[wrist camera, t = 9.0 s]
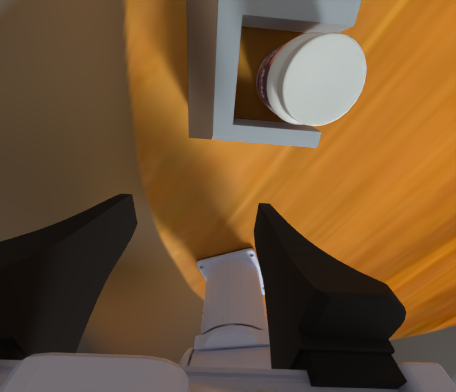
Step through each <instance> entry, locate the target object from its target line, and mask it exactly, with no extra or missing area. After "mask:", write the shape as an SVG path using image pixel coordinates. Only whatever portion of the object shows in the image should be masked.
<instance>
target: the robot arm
mask: <svg viewBox="0 0 456 392" xmlns="http://www.w3.org/2000/svg"><path fill="white" fill-rule="evenodd" d="M136 226H137V219H136V213H135V208H134V202H133V197H132V195H131V194H119V195H117V196H114V197H112V198H110V199H108V200H106V201H104V202H102V203H100V204H98V205H96V206H94V207H92V208H90V209H88V210H86V211H83V212H81V213H79V214H77V215H75V216H72V217H70V218H68V219H66V220H63V221H61V222H58V223H56V224H53V225H51V226H48V227H45V228H43V229H40V230H37V231H34V232H31V233H27V234H24V235H21V236H18V237H15V238H12V239H8V240H4V241H1V242H0V392H456V386H455V384H454V383H453V382H452V380H451V379H450V377H449V376H448V375H447V374H446V372H445V371H444V369H443V368H442V367H441V366H440V364H437V363H424V362H404V363H401V364H398V365H397V363H396V362H395V360H394V359H393V357H392V355H391V354H393V353H394V352H395V351H394V348H393V346H392V345H391V343H390V341H389V340H388V339H389V338H390V337H391V336H392V335H393V334H394V333H395V331H396V330H397V329H398V328H399V327H400V326H401V325H402V323H403V322H404V320H405V316H406V310H405V308H404V306H403V305H402V303H401V302H400V301H399V299H398V298H397V297H396V296H395V294H394V293H393V292H392V290H391V289H390V288H389V287H388V285H387V284H385V283H383V282H380V281H378V280H376V279H374V278H372V277H370V276H367V275H365V274H363V273H361V272H359V271H357V270H355V269H353V268H351V267H349V266H347V265H346V264H344V263H342V262H340V261H338V260H337V259H335V258H333V257H332V256H330V255H329V254H327V253H325V252H324V251H322V250H321V249H319V248H318V247H316V246H315V245H314V244H312V243H311V242H310V241H308V240H307V239H306V238H304V237H303V236H302V235H301V234H300V233H299V232H297V231H296V230H295V229H294V228H293V227H292V226H291V225H290V224H289V223H288V222H287V221H286V220H285V219H284V218H283V217H282V216H281V215H280V214H279V213H278V212H277V211H276V210H275V209H274V208H273V207H272V206H271V205H270V204H266V203H259V205H258V211H257V216H256V222H255V227H254V239H255V248H256V252H257V257H258V259H257V257H256V254H255V251H254V249H252V248H248V249H244V250H240V251H236V252H232V253H228V254H224V255H219V256H215V257H211V258H207V259H203V260H199V261H197V264H196V265H197V267H198V268H199V270H200V272H201V273H202V275H203V277H204V279H205V280H206V290H205V300H204V309H203V319H202V328H201V329H202V330H201V335H200V336H196V338H195V345H194V348H189V349H188V350H187V351H186V353H185V355H184V356H183V358H182V359H181V361H180V363H179V365H178V364H176V363H174V362H172V361H170V360H167V359H164V358H157V357H151V356H138V355H111V354H109V355H108V354H83V353H81V354H80V353H76V351H77V348H78V345H79V342H80V340H81V337H82V335H83V332H84V330H85V327H86V325H87V322H88V320H89V318H90V315H91V313H92V311H93V308H94V306H95V304H96V301H97V299H98V297H99V295H100V293H101V291H102V288H103V286H104V284H105V282H106V280H107V278H108V276H109V274H110V273H111V271H112V269H113V268H114V266H115V264H116V263H117V261H118V259H119V258H120V256H121V254H122V253H123V251H124V250H125V248H126V246H127V244H128V243H129V241H130V240H131V238H132V235H133V233H134V231H135V228H136ZM250 254H252V255H250ZM258 261H259V262H258ZM263 295H265V301H266V310H267V318H266V312H265V305H264V299H263ZM267 320H268V324H267Z"/></svg>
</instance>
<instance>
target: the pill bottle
mask: <svg viewBox="0 0 456 392" xmlns="http://www.w3.org/2000/svg"><path fill="white" fill-rule="evenodd" d="M365 78H366V59H365V55H364V52H363V50H362V48H361V47H360V45H359V44H358V43H357V42H356V41H355V40H354V39H353V38H352V37H350V36H348V35H346V34H343V33H337V32H331V33H320V32H310V33H306V34H302V35H300V36H298V37H296V38H294V39H292V40H291V41H289V42H287V43H285V44H284V45H282V46H280V47H279V48H277V49H275V50H274V51H272V52H271V53H270V54H269V55H268V56H267V57H266V58H265V59H264V60H263V62H262V64H261V65H260V67H259V70H258V73H257V78H256V89H257V93H258V96H259V98H260V100H261V101H262V103H263V104H264V105H265V106H266V107H267V108H269V109H270V110H271V111H272V112H274V113H275V114H276V115H278V116H279V117H280V118H281V119H283V120H284V121H286V122H289V123H292V124H298V125H303V124H305V125H308V126H320V125H325V124H328V123H331V122H333V121H335V120H337V119H338V118H340V117H341V116H343V115H344V114H345V113H346V112H347V111H348V110H349V109H350V108H351V107H352V106H353V105H354V103H355V102H356V100H357V99H358V97H359V95H360V93H361V91H362V89H363V86H364V83H365Z"/></svg>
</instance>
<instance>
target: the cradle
mask: <svg viewBox="0 0 456 392" xmlns="http://www.w3.org/2000/svg"><path fill="white" fill-rule="evenodd" d="M361 1H362V0H218V23H217V48H216V72H215V96H214V120H213V140H224V141H237V142H249V143H262V144H275V145H287V146H300V147H313V148H317V146H318V143H319V140H320V137H321V133H322V132H321V131H319V130H317V129H315V128H314V127H312V126H308V125H305V124H303V125H298V124H292V123H287V122H275V121H263V120H251V119H239V118H233V117H234V106H235V95H236V83H237V72H238V60H239V49H240V37H241V26H243V27H253V28H263V29H273V30H283V31H292V32H302V33H310V32H320V33H331V32H337V33H338V32H341V31H343V30H346V29H348V28H350V27H353V26H354V24H355V21H356V18H357V14H358V11H359V8H360V4H361Z"/></svg>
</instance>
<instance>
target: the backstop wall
mask: <svg viewBox="0 0 456 392" xmlns="http://www.w3.org/2000/svg"><path fill="white" fill-rule="evenodd" d="M217 23H218V0H187V53H188V113H189V138H200V139H212V135H213V120H214V96H215V72H216V48H217Z"/></svg>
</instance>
